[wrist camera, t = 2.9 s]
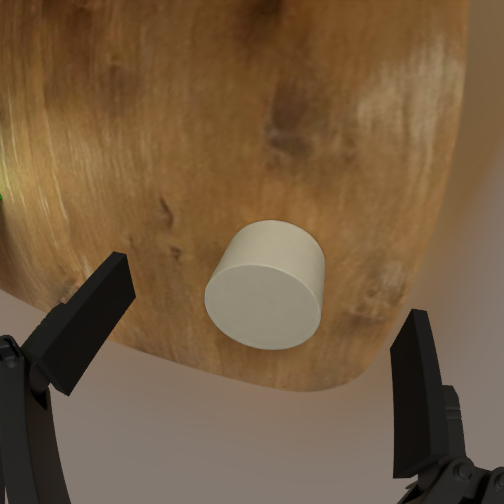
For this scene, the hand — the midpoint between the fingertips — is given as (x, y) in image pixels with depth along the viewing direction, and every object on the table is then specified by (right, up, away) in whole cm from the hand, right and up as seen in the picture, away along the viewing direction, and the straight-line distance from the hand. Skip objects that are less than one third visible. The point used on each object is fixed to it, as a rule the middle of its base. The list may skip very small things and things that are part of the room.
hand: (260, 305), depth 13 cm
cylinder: (+1, +2, +2) cm, 3 cm away
